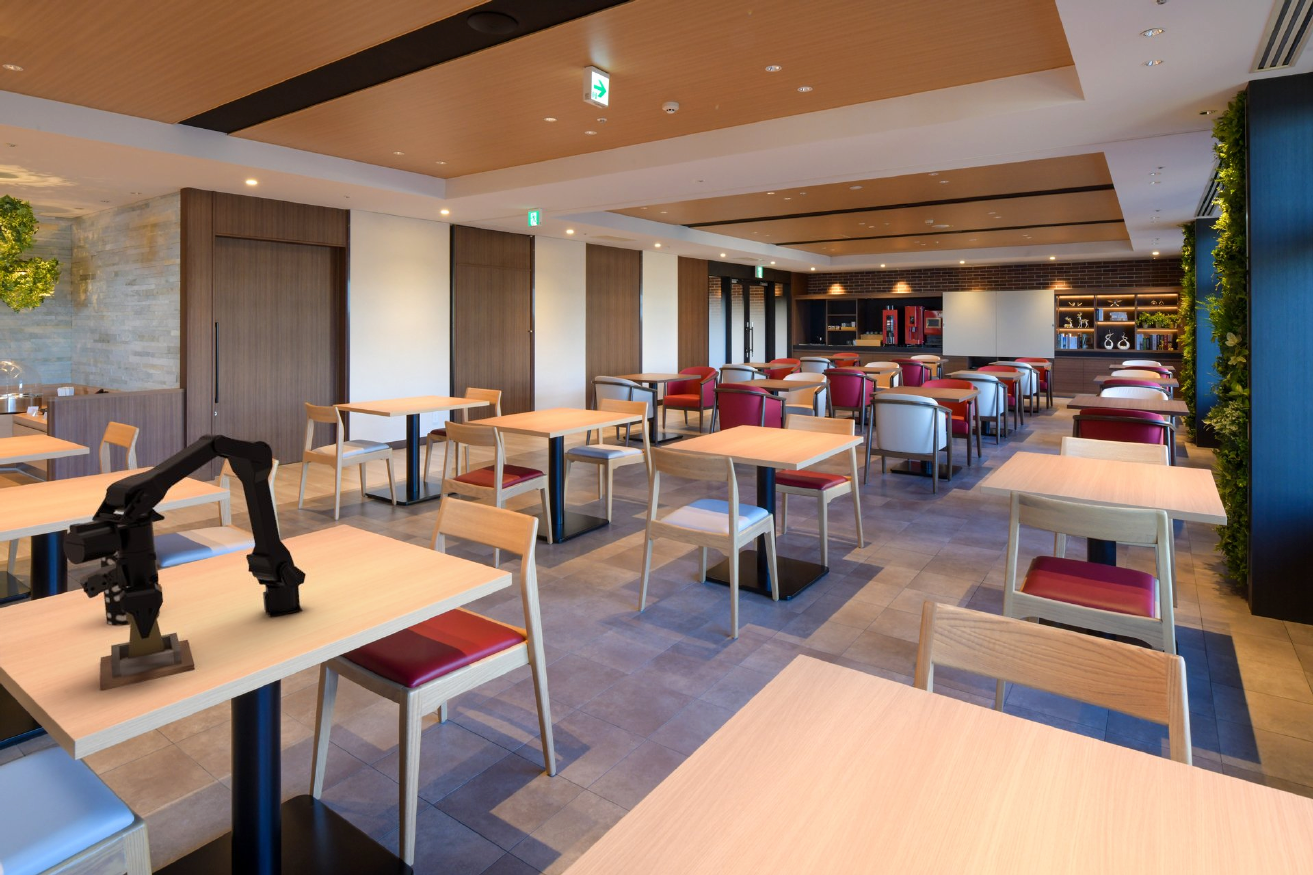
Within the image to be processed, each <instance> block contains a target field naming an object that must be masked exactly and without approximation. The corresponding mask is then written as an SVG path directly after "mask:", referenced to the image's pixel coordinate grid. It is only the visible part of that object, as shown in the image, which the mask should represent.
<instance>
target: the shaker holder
mask: <svg viewBox="0 0 1313 875" xmlns="http://www.w3.org/2000/svg"><path fill="white" fill-rule="evenodd" d="M161 637H162V641H163V644H164V648H165V652H160V653H155V654H150V655H146V656H141V657H136V658H131V659H128V656H129V641H127V642H123V643H117V644H112V645H111V646H110V647H111V648H110V652H111V653H110V655H105V656H104V655H103V656H101V657H100V665H99V666H100V668H99V670H100V671H99V675H100V676H99V687H100V688H99V689H100V691H103V690H104V691H105V690H108V688H109V689H113V688H114V689H115V688H117V687H121V686H126V685H130V684H135V683H140V682H144V681H148V680H153V679H157V678H161V677H166V676H170V675H175V674H179V673H180V674H181V673H183V672H188V671H193V670H195V667H196V666H195V663H194V658H193V654H192V651H191V647H190V643H189V640H188V639H183V640H179V637H178V632H172V633H168V634H163V635H162V634H161Z"/></svg>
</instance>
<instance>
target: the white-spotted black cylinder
mask: <svg viewBox="0 0 1313 875" xmlns="http://www.w3.org/2000/svg"><path fill="white" fill-rule="evenodd" d="M116 556H117V552H116V553H115V554H114V555H112V556H108V557H104V558H100V559H99V561H100V569H101V568H103V567H106V566H109V565H111V564H114V563H116ZM121 592H122V591H121V590H120V588H119V589H118V585H116V586H114V587H112V588H110V589H108V590H106V591H104V592H103V599H104V608H105V618H106V623H107V624H108V625H110V626H126V625H130V623H129V622H128V621H127V619H126V612H123V611H122V610H121V609H120V599H119V594H120V593H121Z"/></svg>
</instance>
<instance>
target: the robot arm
mask: <svg viewBox="0 0 1313 875" xmlns="http://www.w3.org/2000/svg"><path fill="white" fill-rule="evenodd" d="M217 457H218V458H221V459H225V460H227V461H228V464H229V466H230V469H231V471H232V472H233V474H234V475H235V476H236V477H237V479H238V480H240V482H241V484H242V487H243V493H244V498H245V503H246V507H247V512H248V517H249V521H250V526H251V532H252V536H253V540H254V547H253V549H252V552H251V553H248V554H246V557H245V558H246V561H247V564H248V569H247V570H248V571H247V572H249V573H251V574H252V576H253V577H254V578H255V579H256V580H257V582H258V584H259V585H264V587H265V591H263V592H262V596H263V597H262V598H263V599H262V600H263V610H264V612H265V613H267V614H268V617H271V618H273V617H277V616H284V615H287V614H288V615H290V614H294V613H298V612H302V611H303V609H302V607H301V602H300V590H299V589H300V588H299V586H300V585H302V584H304V583H305V579H306V573H305V572H304V571H302V569H300V568H298V567H297V566H296V565H295V562H294V559H293V557H292V554H291V551H290V550H289V549H288V548H287V546H286V545H285V544H284V543H283V541H282V540H281V538H280V532H279V529H278V528H279V526H278V522H277V517H276V512H275V507H274V503H273V498H272V493H271V488H270V483H269V477H270V475H271V472H272V469H273V465H274V462H273V460H274V459H273V450H272V447H271V445H270V444H269V443H268V442H265V441H263V440H250V439H236V438H231V437H229V436H228V437H227V436H225V435H223V434H213V433H205V434H202V435H201V436H199V438H198V439H197V440H195V441H194V442H193V443H191V444H189V445H188V446H186V447H185V448H183V449H181V450H180V451H178V452H176V453H175V454H173V455H172V456H170V457H169V458H167V459H165V460H164V461H163V462H160V463H159V464H157V465H156V466H154V467H152V468H151V469H148V470H146V471H143V472H139V473H136V474H131V475H128V476H126V477H124V478H121V479H120V480H117V481H114V482H113V483H111V484H110V485H109V486H108V487H107V488H106V489H105V491H106V492H105V497H104V498H103V501H102V502H101V504H100V505H99V507H98V508H97V510H96V512H95V513H94V515H93V517H92V518H91V521H88V522H83V523H80V522H79V523H73V524H70V525H69V527H68V528H69V532H68V533H66V535H65V537H64V542H63V543H62V547H63V553H64V554H65V556H66V558H67V560H68V561H69V562H70V563H72V564H74V565H80V564H84V563H87V562H92V561H95V560H100V558H104V557H108V556H112V555H114V554H115V553H116V552H117V556H116V563H114V564H111V565H109V566H106V567H103V568H101V567H100V568H99V569H97V570H94V571H92V572H91V573H88V574H86V575H83V576H82V577H81V578H80V579H79V585H80V586H81V588H82V590H83V592H84V593H85V594H86V595H87V597H88V599H93V598H95V597H98V596H99V594H102V593H104V591H106V590H108V589H110V588H112V587H114V586H116V585H118V589H119V588H120V590H121V591H122V592H121V593H120V594H119V599H120V609H121V610H122V611H123V612H127V613H129V614H131V615H132V616H133V618H134V620H135V623H136V626H137V628H138V631H139V633H140V636H141V638H142V639H145V638H148V637H149V635H150V633H151V630H152V628H153V625H154V622H155V620H156V617H157V615H158V612H159V610H160V609H161V607H162V606H163V603H164V596H163V595H164V594H163V590H162V589H163V588H162V589H161V587H160V586H158V585H159V584H160V583H159V580H160V578H159V571H158V564H157V553H156V545H155V544H156V543H155V532H154V523H155V522H160V521H164V520H165V516H164V515H162V514H160V513H159V512H157V511H156V510H155V507H157V505H158V504H160V503H161V502H162V501H163V500H164V499H165V497H166V495H167V493H168V491H169V490H170V489H171V488H172V487H173V486H175V485H177V484H178V483H179V482H181V481H182V480H183V479H185V478H187V477H188V476H190V475H192V474H193V473H195V472H196V471H197V470H199V469H200V468H202V467H203V466H205V465H206V464H208V463H210V462H211V461H213V460H214V459H215V458H217ZM115 512H117V513H115ZM118 512H119V513H118Z"/></svg>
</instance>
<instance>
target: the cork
mask: <svg viewBox="0 0 1313 875" xmlns="http://www.w3.org/2000/svg"><path fill="white" fill-rule="evenodd" d="M160 613H161V611H160V610H159V612H158V615H157V617H156V620H155V622H154V625H153V628H152V630H151V633H150V635H149V637H148V638H145V639H142V638H141V636H140V633H139V631H138V628H137V626H136V623H135V620H134V618H133V616H132V615H131V614H129V613H127V612H126V619H127V621H128V622H129V623H130V624H129V625H130V627H129V628H130V629H129V641H128V642H129V656H128V659H131V658H136V657H141V656H146V655H150V654H155V653H160V652H165V648H164V644H163V641H162V637H161V636H162V634H161V630H160V626H159V622H158V619H159V617H160Z"/></svg>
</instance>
